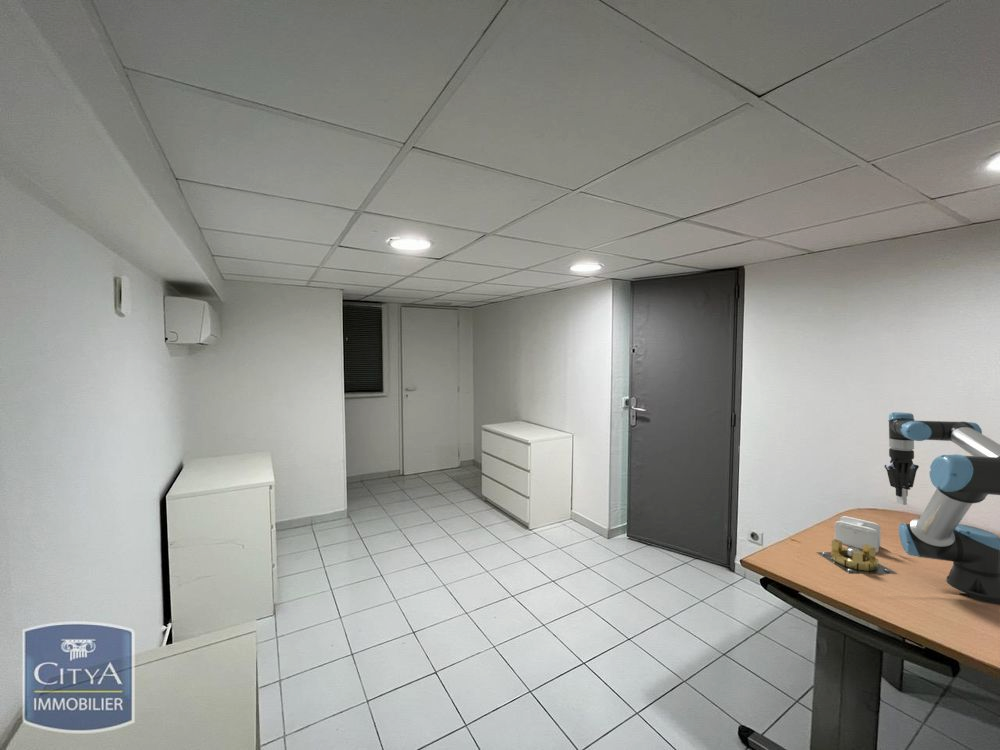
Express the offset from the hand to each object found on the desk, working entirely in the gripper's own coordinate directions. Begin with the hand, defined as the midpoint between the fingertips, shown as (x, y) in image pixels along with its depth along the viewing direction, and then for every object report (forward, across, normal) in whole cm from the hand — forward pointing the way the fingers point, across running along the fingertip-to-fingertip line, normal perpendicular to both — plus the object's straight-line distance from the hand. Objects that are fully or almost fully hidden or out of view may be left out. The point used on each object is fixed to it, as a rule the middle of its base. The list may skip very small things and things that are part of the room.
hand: (901, 503), depth 171 cm
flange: (+24, +24, +4) cm, 34 cm away
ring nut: (+23, +24, +4) cm, 33 cm away
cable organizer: (+24, +8, -12) cm, 28 cm away
